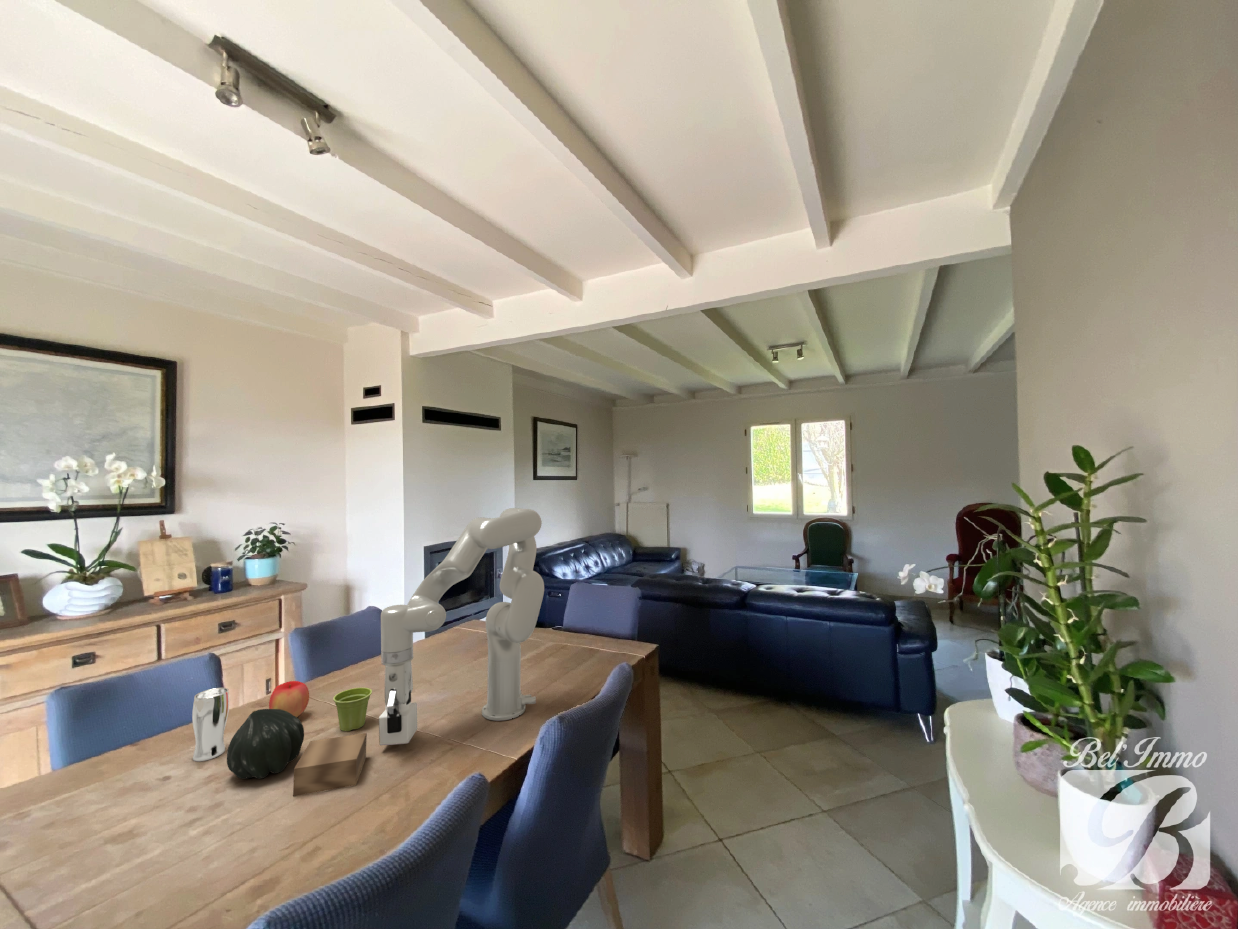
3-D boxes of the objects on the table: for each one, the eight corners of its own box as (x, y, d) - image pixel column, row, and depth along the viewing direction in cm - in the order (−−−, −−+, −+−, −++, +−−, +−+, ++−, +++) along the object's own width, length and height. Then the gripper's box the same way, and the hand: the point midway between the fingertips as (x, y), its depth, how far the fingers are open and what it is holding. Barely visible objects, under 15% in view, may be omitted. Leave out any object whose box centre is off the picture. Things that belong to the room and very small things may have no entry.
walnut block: (365, 758, 118) (366, 733, 118) (355, 786, 106) (356, 759, 107) (309, 767, 114) (310, 741, 114) (293, 797, 103) (294, 768, 103)
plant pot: (354, 736, 127) (355, 703, 128) (324, 733, 129) (325, 700, 130) (378, 720, 137) (379, 689, 137) (350, 716, 138) (351, 686, 139)
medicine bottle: (390, 731, 126) (389, 685, 127) (417, 729, 127) (417, 683, 127) (378, 746, 119) (377, 697, 120) (408, 744, 120) (407, 695, 120)
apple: (260, 723, 135) (262, 687, 135) (296, 709, 143) (297, 675, 144) (279, 731, 130) (281, 693, 131) (315, 716, 139) (316, 681, 139)
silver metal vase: (233, 750, 121) (236, 689, 122) (202, 765, 114) (204, 700, 115) (215, 745, 123) (217, 685, 124) (183, 759, 117) (186, 696, 117)
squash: (326, 726, 122) (284, 684, 120) (297, 761, 107) (248, 714, 106) (280, 767, 120) (236, 726, 118) (244, 809, 105) (193, 762, 104)
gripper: (405, 665, 116) (406, 739, 115) (419, 642, 133) (420, 706, 132) (371, 669, 114) (372, 744, 114) (390, 645, 131) (391, 710, 131)
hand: (398, 723), depth 123 cm, fingers closed on medicine bottle, 7 cm apart
